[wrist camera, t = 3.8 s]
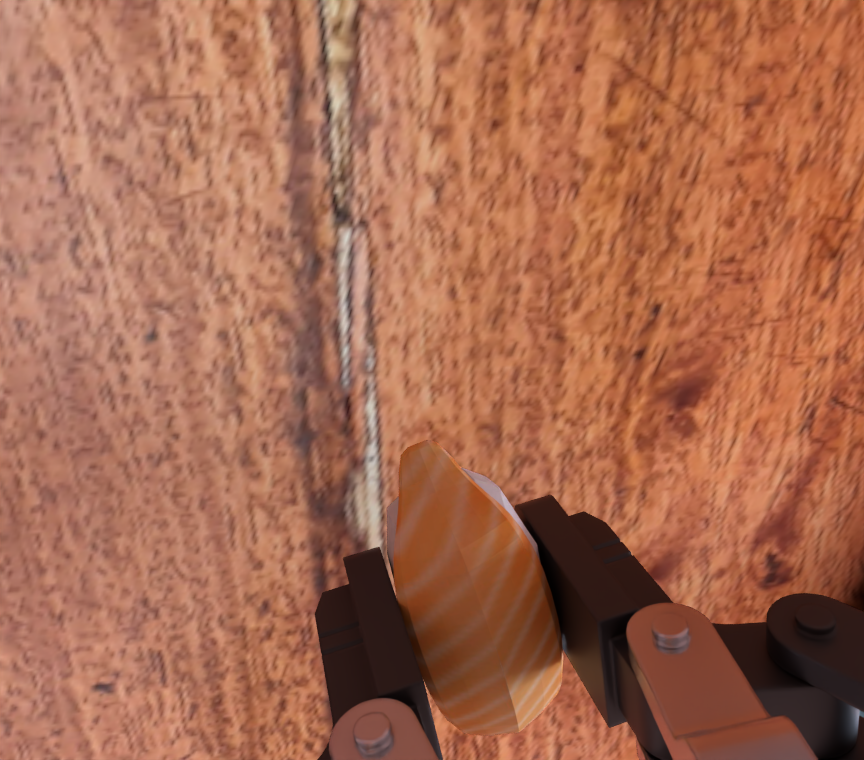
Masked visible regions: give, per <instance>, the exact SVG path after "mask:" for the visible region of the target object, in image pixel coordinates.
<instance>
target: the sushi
mask: <svg viewBox="0 0 864 760" xmlns="http://www.w3.org/2000/svg"><path fill="white" fill-rule="evenodd" d="M387 554H388V558H389V562H390V566H391V570H392V574H393V578H394V582H395V588H396V596H397V602H398V605H399V608H400V611H401V614H402V617H403V620H404V623H405V626H406V629H407V632H408V635H409V638H410V641H411V644H412V648H413V651H414V654H415V657H416V660H417V663H418V666H419V669H420V672H421V675H422V677H423V680H424V682H425V684H426V686H427V688H428V690H429V692H430V694H431V696H432V698H433V700H434V701H435V703H436V705H437V706H438V708H439V710H440V711H441V712H442V714H443V715H444V716H445V718H446V719H447V720H448V721H449V722H451V723H452V724H453V725H454V726H456V727H457V728H458V729H459V730H461V731H462V732H463V733H464V734H469V735H489V736H492V735H501V734H510V733H519V732H520V731H521V730H522V729H524V728H525V727H526V726H527V725H528V724H529V723H531V722H532V721H533V720H534V719H535V718H536V717H538V716H539V715H540V714H541V713H542V711H543V710H544V709H545V708H546V707H547V706H548V705H549V703H550V702H551V701H552V700H553V699H554V698H555V696H556V695H557V694H558V692H559V689H560V686H561V681H562V669H563V646H562V637H561V631H560V626H559V620H558V615H557V612H556V608H555V604H554V600H553V596H552V592H551V590H550V587H549V584H548V581H547V578H546V575H545V572H544V570H543V567H542V565H541V562H540V557H539V551H538V546H537V544H536V542H535V541H534V539H533V538H532V536H531V535H530V533H529V532H528V530H527V529H526V527H525V526H524V524H523V523H522V521H521V519H520V518H519V516H518V515H517V513H516V512H515V510H514V509H513V507H512V506H511V504H510V503H509V501H508V500H507V498H506V497H505V495H504V494H503V492H502V491H501V489H500V488H499V486H497V485H496V484H495V483H493V482H492V481H491V480H489V479H488V478H487V477H486V476H483V475H480V474H478V473H475V472H472V471H470V470H467V469H464V468H461V467H460V466H459V465H458V464H457V463H456V461H455V460H454V459H453V458H452V457H451V455H450V454H449V453H448V452H447V451H446V450H445V449H444V448H443V447H442V446H441V445H440V444H439V443H438V442H435V441H428V440H426V441H423V442H420V443H418V444H415V445H413V446H410V447H408V448H407V449H406V450H405V451H404V452H403V454H402V455H401V458H400V467H399V496H398V497H397V498H396V499H395V500H394V501H393V502H392V503H391V504H390V505H389V506H388V507H387Z"/></svg>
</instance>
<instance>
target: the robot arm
mask: <svg viewBox="0 0 864 760" xmlns="http://www.w3.org/2000/svg"><path fill="white" fill-rule="evenodd" d="M514 510H515V512H516V513H517V515H518V516H519V518H520V519H521V521H522V523H523V524H524V526H525V527H526V529H527V530H528V532H529V533H530V535H531V536H532V538H533V539H534V541H535V542H536V544H537V546H538V551H539V557H540V562H541V565H542V567H543V570H544V572H545V575H546V578H547V581H548V584H549V587H550V590H551V592H552V596H553V600H554V604H555V608H556V612H557V615H558V620H559V626H560V631H561V637H562V646H563V650H564V652H565V653H566V655H567V657H568V658H569V660H570V662H571V663H572V665H573V667H574V669H575V670H576V672H577V674H578V675H579V677H580V679H581V681H582V682H583V684H584V686H585V687H586V689H587V691H588V693H589V694H590V696H591V698H592V699H593V701H594V703H595V705H596V706H597V708H598V710H599V711H600V713H601V715H602V717H603V718H604V720H605V722H606V723H607V725H608V727H609V728H610V727H613V726H616V725H619V724H621V723H624V722H628V724H629V725H630V727H631V729H632V730H633V732H634V733H635V735H636V745H637V754H638V758H639V760H864V718H863V717H861V716H859V712H860V711H862V712H864V612H863V611H861V610H859V609H856V608H854V607H852V606H849V605H847V604H845V603H842V602H840V601H838V600H835V599H832V598H830V597H826V596H823V595H818V594H808V593H801V594H793V595H788V596H785V597H782V598H780V599H779V600H777V601H776V602H774V603H773V604H772V605H771V607H770V608H769V610H768V612H767V622H762V623H746V624H715V623H711V622H710V620H709V619H708V618H707V617H706V616H705V615H703V614H702V613H700V612H699V611H697V610H695V609H693V608H691V607H688V606H685V605H681V604H677V603H673V602H672V601H671V600H670V598H669V597H668V596H667V595H666V594H665V592H664V591H663V590H662V589H661V588H660V586H659V585H658V584H657V583H656V582H655V581H654V579H653V578H652V577H651V576H650V575H649V573H648V572H647V571H646V570H645V569H644V567H643V566H642V565H641V564H640V563H639V562H638V560H637V559H636V558H635V557H634V556H632V555H631V552H630V551H629V550H628V548H627V547H626V546H625V545H624V544H623V543H622V542H620V539H619V538H618V537H617V535H616V534H615V533H614V532H613V531H612V529H611V528H610V527H609V526H608V525H607V523H606V522H604V521H602V520H600V519H598V518H596V517H594V516H592V515H590V514H588V513H586V512H580V513H577V514H574V515H571V516H568V515H567V514H566V512H565V511H564V510H563V508H562V507H561V506H560V505H559V503H558V502H557V501H556V499H555V498H554V497H553V496H552V495H548V496H544V497H541V498H538V499H535V500H531V501H528V502H525V503H522V504H518V505H515V508H514ZM343 560H344V564H345V568H346V572H347V576H348V581H349V584H348V585H345V586H342V587H338V588H335V589H332V590H329V591H326V592H323V593H322V596H321V598H320V601H319V604H318V607H317V609H316V612H315V618H316V624H317V630H318V635H319V642H320V648H321V653H322V660H323V665H324V671H325V677H326V683H327V689H328V695H329V701H330V707H331V713H332V719H333V728H332V732H331V735H330V739H329V743H328V745H327V747H326V749H325V750H324V752H323V753H322V755H321V756H320V757H319V758H318V760H443V758H442V754H441V750H440V746H439V742H438V738H437V734H436V730H435V726H434V721H433V717H432V713H431V709H430V705H429V701H428V697H427V693H426V689H425V685H424V681H423V678H422V675H421V672H420V669H419V666H418V663H417V660H416V657H415V654H414V651H413V648H412V644H411V641H410V638H409V635H408V632H407V629H406V626H405V623H404V620H403V617H402V614H401V611H400V608H399V605H398V602H397V599H396V596H395V593H394V590H393V587H392V584H391V581H390V578H389V574H388V571H387V568H386V565H385V562H384V559H383V556H382V553H381V550H380V547H376V548H373V549H370V550H367V551H363V552H360V553H357V554H354V555H350V556H347V557H344V558H343Z"/></svg>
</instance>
